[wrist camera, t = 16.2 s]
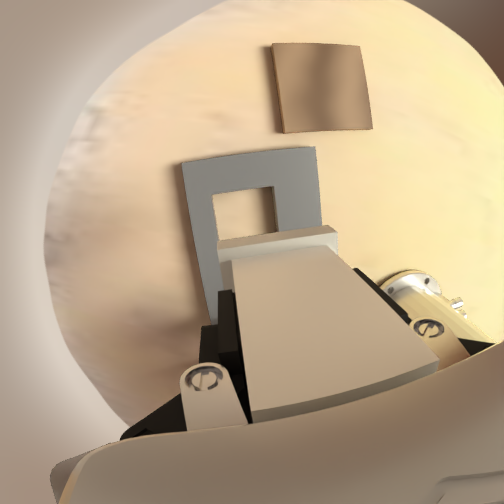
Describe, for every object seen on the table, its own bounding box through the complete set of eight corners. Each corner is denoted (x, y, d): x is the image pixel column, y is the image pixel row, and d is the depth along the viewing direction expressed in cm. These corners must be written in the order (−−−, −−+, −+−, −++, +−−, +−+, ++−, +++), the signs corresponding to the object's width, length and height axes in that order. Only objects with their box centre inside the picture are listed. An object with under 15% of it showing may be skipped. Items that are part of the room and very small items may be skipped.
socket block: (310, 146, 27) (400, 143, 13) (321, 360, 35) (367, 456, 21) (183, 162, 26) (142, 170, 12) (225, 378, 34) (234, 486, 20)
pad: (355, 48, 24) (359, 46, 23) (368, 129, 27) (372, 129, 26) (270, 46, 24) (272, 43, 23) (283, 133, 27) (285, 132, 26)
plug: (327, 224, 13) (504, 374, 4) (330, 318, 15) (430, 490, 5) (217, 241, 13) (220, 469, 3) (234, 335, 15) (259, 542, 5)
